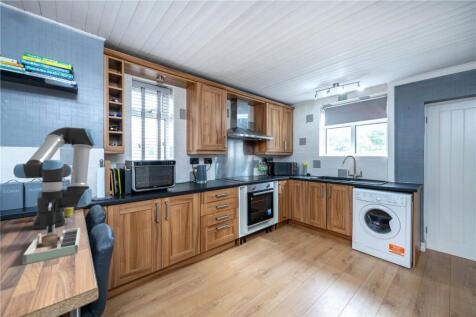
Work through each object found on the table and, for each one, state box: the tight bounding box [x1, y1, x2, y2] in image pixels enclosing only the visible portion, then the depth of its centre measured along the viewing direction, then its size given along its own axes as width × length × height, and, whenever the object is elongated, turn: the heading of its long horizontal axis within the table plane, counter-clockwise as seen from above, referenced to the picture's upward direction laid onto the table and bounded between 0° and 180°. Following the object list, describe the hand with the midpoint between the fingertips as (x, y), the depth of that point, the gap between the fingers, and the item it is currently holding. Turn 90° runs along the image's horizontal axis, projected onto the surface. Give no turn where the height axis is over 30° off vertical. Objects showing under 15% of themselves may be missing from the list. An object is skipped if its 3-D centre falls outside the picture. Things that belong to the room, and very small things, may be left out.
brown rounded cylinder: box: [41, 233, 59, 248], centre depth 96 cm, size 6×6×4 cm
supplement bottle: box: [63, 207, 75, 218], centre depth 145 cm, size 5×5×10 cm
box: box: [22, 227, 81, 266], centre depth 93 cm, size 30×16×4 cm, turn 37°
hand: (50, 238), depth 98 cm, fingers closed
